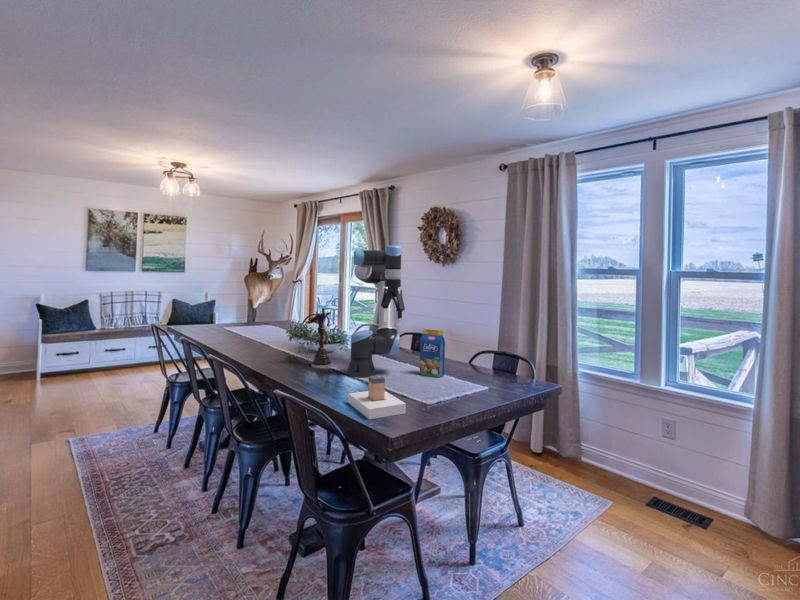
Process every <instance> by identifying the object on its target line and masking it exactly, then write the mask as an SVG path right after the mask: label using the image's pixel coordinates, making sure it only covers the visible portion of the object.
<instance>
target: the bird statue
mask: <svg viewBox="0 0 800 600" xmlns="http://www.w3.org/2000/svg"><path fill="white" fill-rule="evenodd" d="M325 308H326V307H322V308H321V313H320V312H318V311H317V310H316V311H315V312H314V313H315V315H314V316H312V318H311V319H309V320H305V323H304V324H305V325H308V324H313V323H317V322H318V327H317V332H318V333H319V339H318V340H319V342H320V343H319V347H318V349H317V352H316V354H314V359H313V362H311V368H313V369H327V368H331V367H332V361H331V359H330V355H329V353H328V352H327V350H326V349H327V347H325V346H324V345H325V343H324V342H325V339H324V338H325V337H324V336H325V333H326V331H327V328H326V324H325V323H324V320H325V319H326V317H328V316H329V315H330V314H331V312H330V311H328V312H325Z"/></svg>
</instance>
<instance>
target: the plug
mask: <svg viewBox="0 0 800 600" xmlns="http://www.w3.org/2000/svg"><path fill="white" fill-rule="evenodd" d="M385 380H386V379H385V377H384V376H383V375H381V374H377V375H376V374H375V375H373V376H369V377H368V390H367V391H368V399H369V400H371V401H372V402H374V401H381V400H384V391H386V390H385V388H386V387H385V386H386V385H385V383H386V381H385Z"/></svg>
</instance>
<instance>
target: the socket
mask: <svg viewBox="0 0 800 600" xmlns="http://www.w3.org/2000/svg"><path fill="white" fill-rule="evenodd" d="M347 396H348V398H347V401H348V403H349V405H350V406H352V407H353V408H354V409H355V410H357V411H358V412H359V413H360V414H362V415H363V416H365V418H367V419H368V420H374V419H380V418H386V417H392V416H398V415H404V414H406V413H407V403H406V402H404V401H403V400H401V399H399V398H398V397H396V396H395V395H392V394H391V393H389V392H387V391H386V390H384V400H381V401H374V402H372V401H371V400H369V399H368V390H365V391H359V392H357V391H356V392H350V393H348V395H347Z"/></svg>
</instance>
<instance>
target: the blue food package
mask: <svg viewBox="0 0 800 600" xmlns="http://www.w3.org/2000/svg"><path fill="white" fill-rule="evenodd" d="M419 342H420V343H419V375H422V376H427V377H431V378H441V377H444V376H445V358H446V357H445V356H446V355H445V354H446V349H445V348H446V342H445V337H444V330H438V329H430V328H429V329H426V328H423V329H422V335H421V337H420V341H419Z"/></svg>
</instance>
